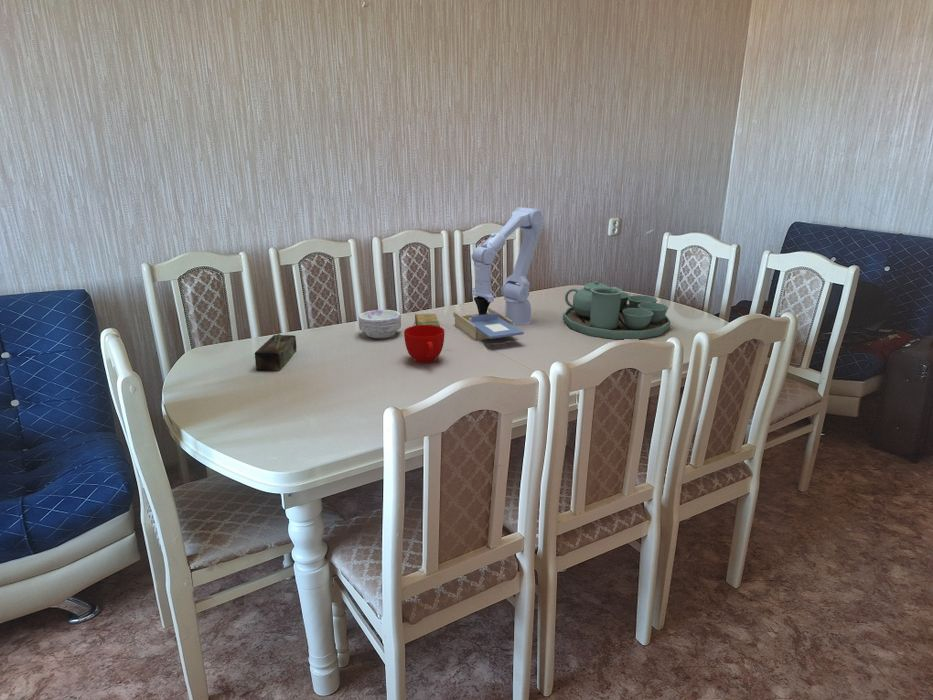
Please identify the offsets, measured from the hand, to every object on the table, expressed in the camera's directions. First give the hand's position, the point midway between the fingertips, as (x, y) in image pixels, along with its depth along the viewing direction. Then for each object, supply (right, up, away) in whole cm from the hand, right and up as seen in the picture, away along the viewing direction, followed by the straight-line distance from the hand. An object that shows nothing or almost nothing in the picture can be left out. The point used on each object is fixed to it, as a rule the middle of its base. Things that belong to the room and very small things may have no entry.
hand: (482, 316), depth 221 cm
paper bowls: (-37, -7, -2) cm, 38 cm away
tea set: (+52, -3, +12) cm, 53 cm away
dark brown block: (-67, -16, -27) cm, 74 cm away
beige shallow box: (0, -6, +2) cm, 6 cm away
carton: (-21, -5, +5) cm, 22 cm away
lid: (+4, -5, -8) cm, 10 cm away
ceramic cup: (-19, -16, -28) cm, 38 cm away
